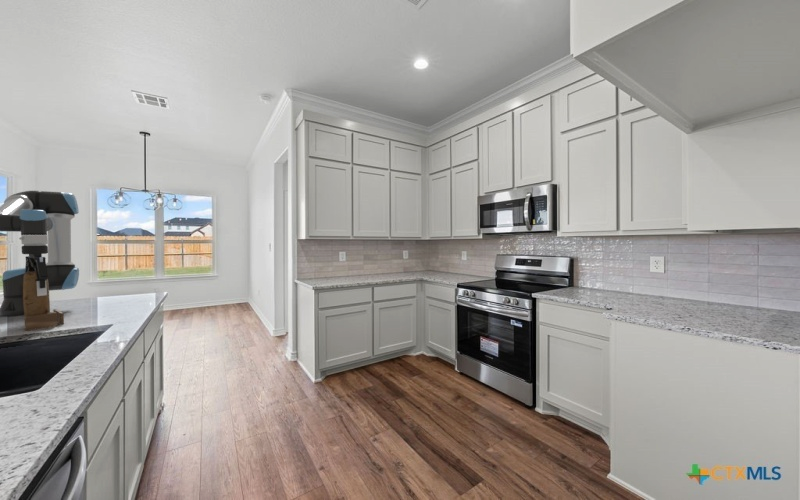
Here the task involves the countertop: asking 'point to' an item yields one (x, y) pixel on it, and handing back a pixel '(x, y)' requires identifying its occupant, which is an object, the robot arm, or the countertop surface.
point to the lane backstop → (40, 321)
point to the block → (34, 296)
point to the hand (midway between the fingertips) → (37, 294)
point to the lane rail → (59, 316)
